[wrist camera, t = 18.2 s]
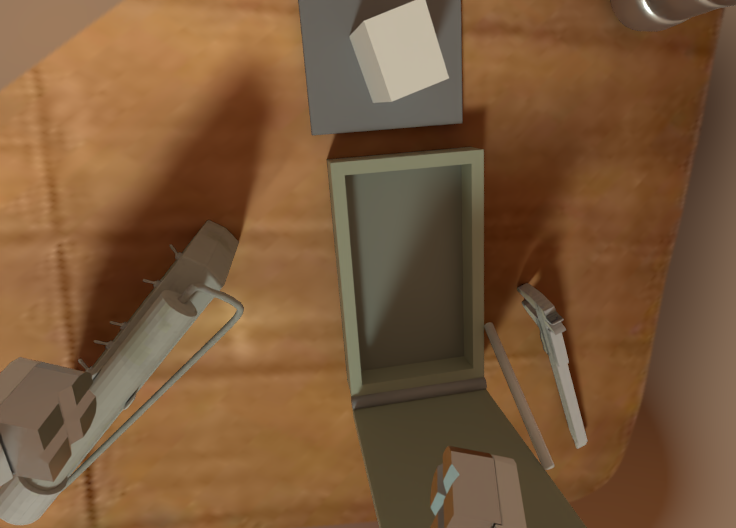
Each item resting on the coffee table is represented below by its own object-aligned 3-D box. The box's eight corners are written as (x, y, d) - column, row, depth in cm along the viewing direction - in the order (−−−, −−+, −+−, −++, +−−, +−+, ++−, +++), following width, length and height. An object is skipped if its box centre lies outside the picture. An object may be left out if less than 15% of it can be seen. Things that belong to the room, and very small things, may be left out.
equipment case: (349, 398, 47) (397, 607, 28) (326, 159, 41) (370, 207, 21) (480, 378, 49) (615, 561, 29) (479, 145, 42) (653, 178, 23)
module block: (373, 102, 39) (391, 101, 32) (349, 36, 37) (363, 20, 31) (422, 82, 39) (451, 77, 33) (401, 15, 38) (426, -5, 31)
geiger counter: (157, 255, 27) (-92, 575, 30) (255, 321, 29) (11, 615, 32) (199, 207, 40) (22, 433, 43) (264, 255, 42) (90, 468, 45)
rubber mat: (311, 134, 40) (312, 135, 39) (297, -7, 37) (297, -10, 36) (458, 122, 42) (462, 123, 41) (456, -14, 39) (460, -17, 38)
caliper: (513, 285, 47) (547, 310, 41) (524, 280, 47) (559, 304, 41) (574, 446, 54) (610, 488, 48) (584, 441, 54) (621, 482, 48)
